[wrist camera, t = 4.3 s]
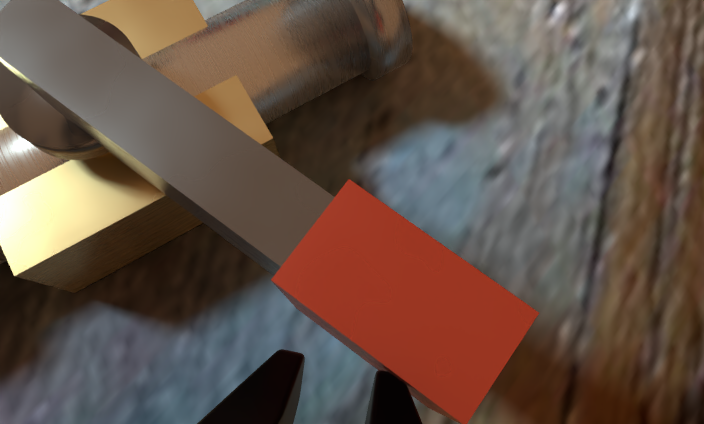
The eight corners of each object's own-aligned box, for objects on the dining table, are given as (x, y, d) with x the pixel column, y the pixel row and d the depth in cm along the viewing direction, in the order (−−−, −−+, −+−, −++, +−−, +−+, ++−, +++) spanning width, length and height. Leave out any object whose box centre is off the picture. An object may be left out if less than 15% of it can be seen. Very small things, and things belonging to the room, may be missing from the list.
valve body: (418, 106, 18) (435, 36, 14) (-80, 376, 16) (-213, 378, 12) (329, -30, 19) (323, -129, 15) (-146, 207, 17) (-285, 161, 13)
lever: (-15, 108, 13) (-165, 1, 9) (79, 10, 14) (-26, -128, 10) (410, 434, 12) (438, 466, 8) (495, 306, 12) (562, 276, 8)
